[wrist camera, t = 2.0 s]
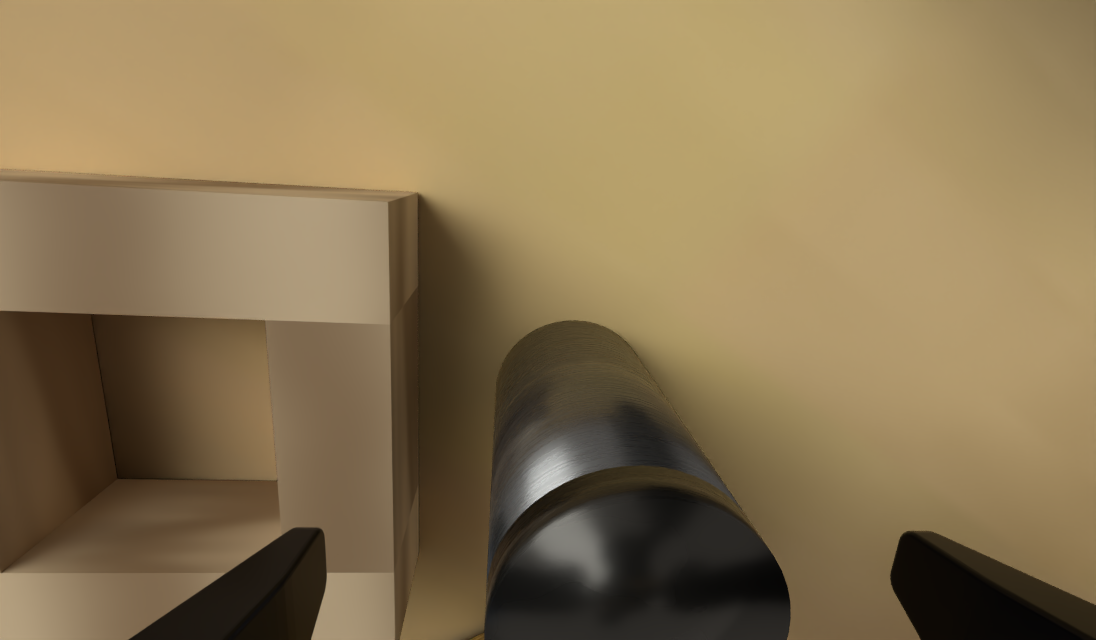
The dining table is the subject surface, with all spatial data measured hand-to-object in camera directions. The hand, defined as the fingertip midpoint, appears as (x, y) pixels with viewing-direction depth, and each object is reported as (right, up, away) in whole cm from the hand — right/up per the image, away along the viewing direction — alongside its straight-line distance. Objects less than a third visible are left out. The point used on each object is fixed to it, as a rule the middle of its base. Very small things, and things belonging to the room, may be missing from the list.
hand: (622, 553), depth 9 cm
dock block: (-9, +2, +6) cm, 11 cm away
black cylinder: (-1, +2, +6) cm, 7 cm away
